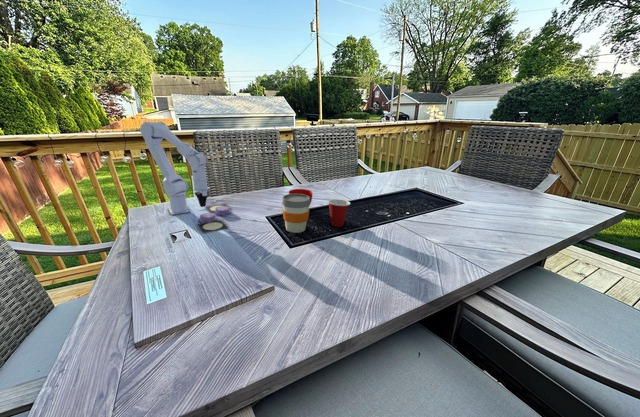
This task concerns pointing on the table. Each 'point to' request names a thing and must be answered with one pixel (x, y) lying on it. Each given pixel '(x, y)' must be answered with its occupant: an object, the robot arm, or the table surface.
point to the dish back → (222, 210)
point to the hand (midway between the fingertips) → (202, 206)
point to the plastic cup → (338, 211)
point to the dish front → (207, 217)
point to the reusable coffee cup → (295, 212)
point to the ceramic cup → (302, 192)
